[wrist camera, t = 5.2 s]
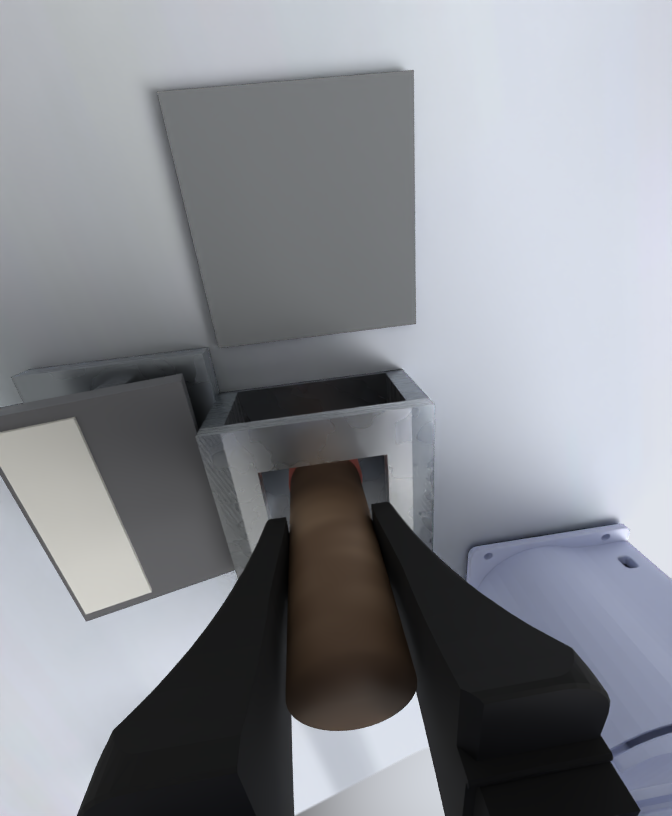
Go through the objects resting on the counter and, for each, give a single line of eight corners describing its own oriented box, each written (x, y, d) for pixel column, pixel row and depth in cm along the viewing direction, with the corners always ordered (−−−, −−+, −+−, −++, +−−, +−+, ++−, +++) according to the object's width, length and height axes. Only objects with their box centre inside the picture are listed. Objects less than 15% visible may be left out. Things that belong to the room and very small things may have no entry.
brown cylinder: (358, 449, 15) (419, 640, 7) (360, 506, 16) (415, 719, 9) (286, 457, 15) (277, 661, 7) (294, 514, 16) (293, 739, 8)
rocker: (182, 373, 13) (180, 382, 12) (235, 553, 17) (237, 572, 16) (-14, 409, 11) (-34, 423, 10) (92, 601, 15) (85, 625, 14)
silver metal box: (401, 323, 15) (435, 346, 11) (405, 512, 19) (432, 574, 15) (29, 369, 14) (-65, 409, 10) (118, 555, 18) (73, 632, 14)
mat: (409, 76, 12) (413, 70, 11) (412, 322, 15) (415, 323, 14) (161, 96, 11) (157, 91, 11) (220, 345, 14) (218, 348, 14)
